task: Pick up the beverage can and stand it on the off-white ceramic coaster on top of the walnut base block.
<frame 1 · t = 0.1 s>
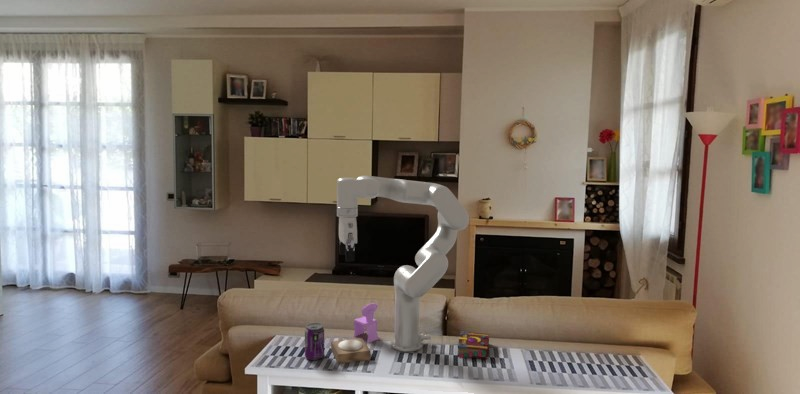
hand: (346, 258, 197), 37 cm above the table, tool pointing down, fingers open, 9 cm apart
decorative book: (473, 351, 207), on the table
toy chair: (366, 338, 218), on the table
beverage can: (314, 357, 199), on the table
base: (350, 354, 201), on the table
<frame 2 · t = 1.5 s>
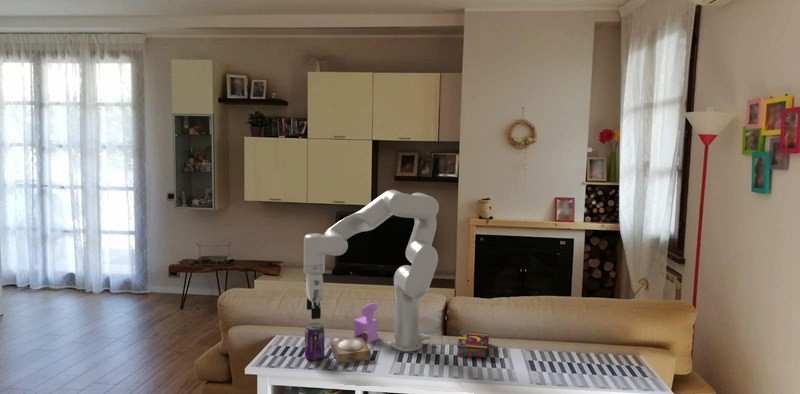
hand: (313, 313, 196), 17 cm above the table, tool pointing down, fingers open, 9 cm apart
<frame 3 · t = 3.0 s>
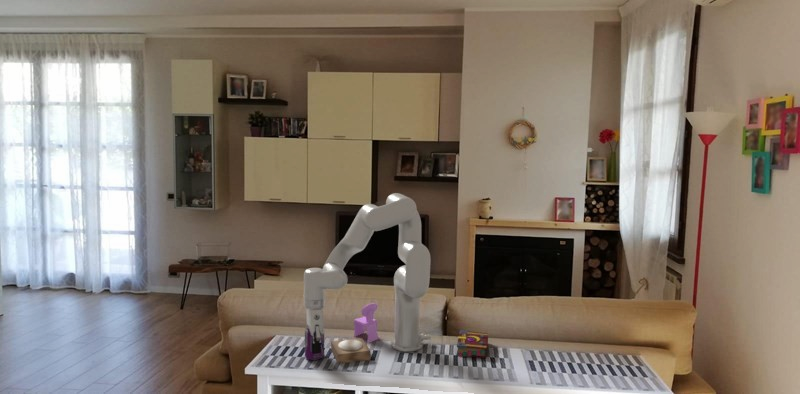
hand: (314, 348, 198), 3 cm above the table, tool pointing down, fingers closed on beverage can, 7 cm apart
beverage can: (314, 357, 199), on the table, touching gripper
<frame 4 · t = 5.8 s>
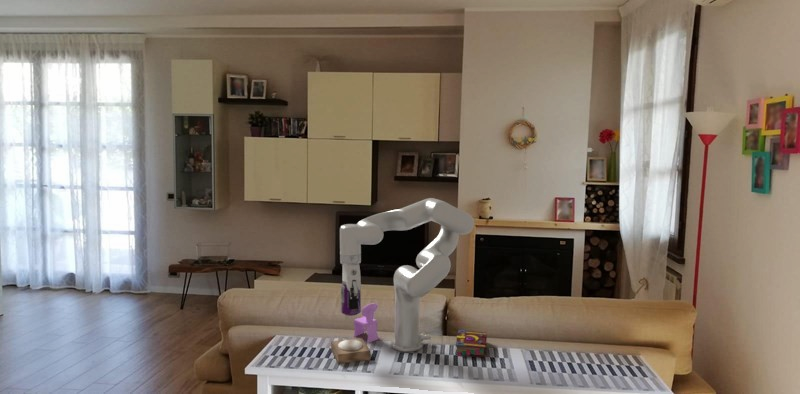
hand: (351, 304, 198), 19 cm above the table, tool pointing down, fingers closed on beverage can, 7 cm apart
beverage can: (351, 314, 199), point 16 cm above the table, touching gripper
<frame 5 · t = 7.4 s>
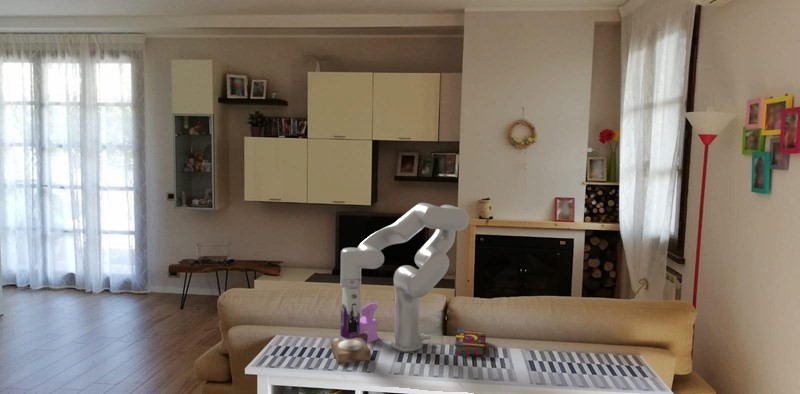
hand: (350, 327, 200), 11 cm above the table, tool pointing down, fingers closed on beverage can, 7 cm apart
beverage can: (349, 336, 200), point 7 cm above the table, touching gripper
when the fingers open (8 cm above the table, at t = 8.5 s): beverage can stays where it is, resting on base.
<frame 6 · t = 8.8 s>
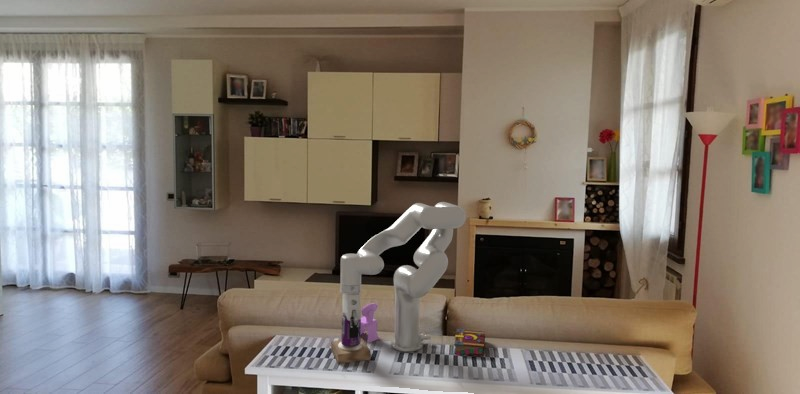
hand: (350, 332, 200), 9 cm above the table, tool pointing down, fingers open, 9 cm apart
beverage can: (350, 345, 201), point 4 cm above the table, touching base
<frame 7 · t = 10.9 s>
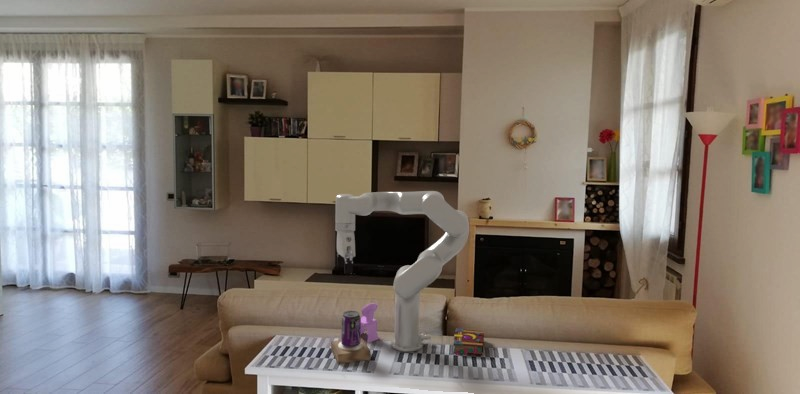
hand: (344, 269, 209), 29 cm above the table, tool pointing down, fingers open, 9 cm apart
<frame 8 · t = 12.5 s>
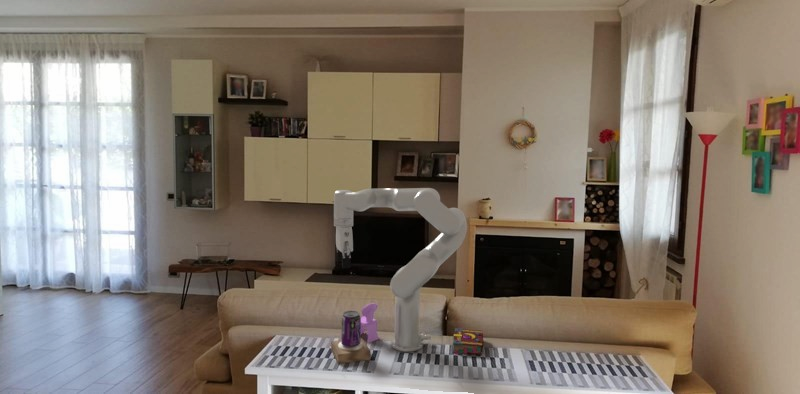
hand: (343, 264, 212), 30 cm above the table, tool pointing down, fingers open, 9 cm apart
at the end: beverage can inside the target area on the base (0.2 cm from its centre), point 3.8 cm above the base's base; beverage can tilted 0°; the gripper is holding nothing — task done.
